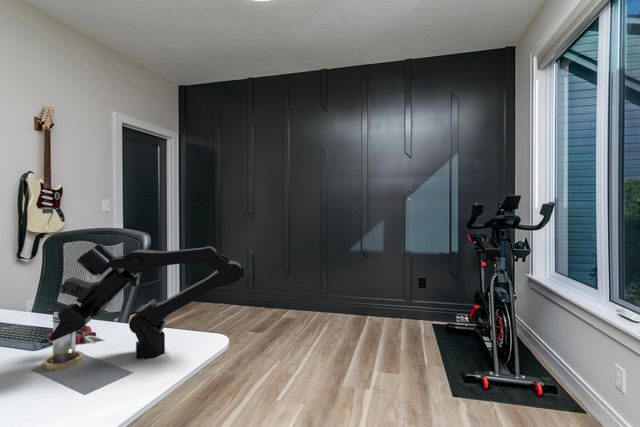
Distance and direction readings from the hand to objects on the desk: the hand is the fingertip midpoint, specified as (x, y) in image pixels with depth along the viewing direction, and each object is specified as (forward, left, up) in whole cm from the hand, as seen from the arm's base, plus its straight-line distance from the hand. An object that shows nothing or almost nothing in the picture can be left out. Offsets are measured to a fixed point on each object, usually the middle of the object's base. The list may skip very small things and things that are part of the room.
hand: (60, 332), depth 84 cm
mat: (-5, +8, -9) cm, 13 cm away
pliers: (-2, -19, -10) cm, 22 cm away
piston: (-1, 0, -8) cm, 8 cm away
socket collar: (-1, 0, -9) cm, 9 cm away
